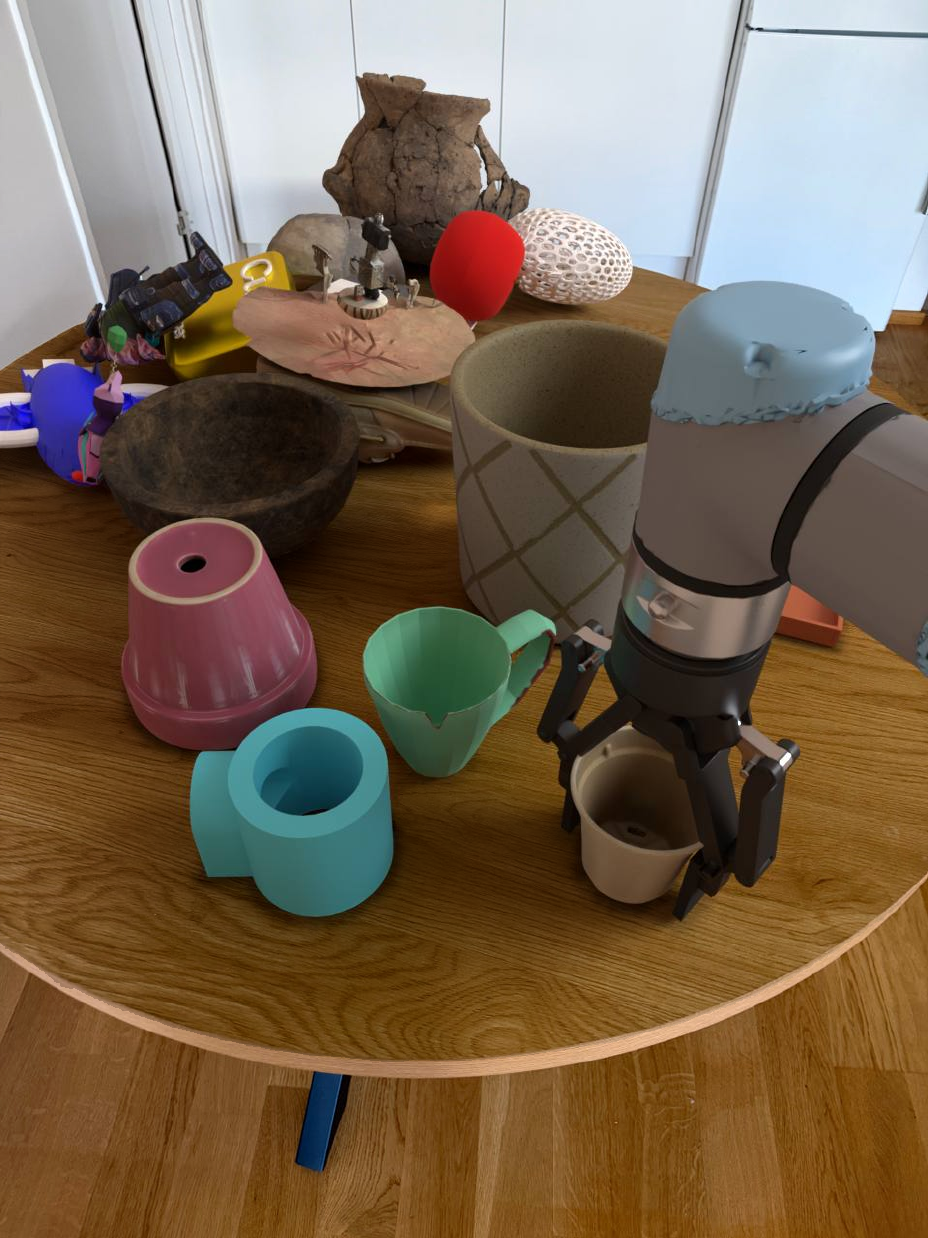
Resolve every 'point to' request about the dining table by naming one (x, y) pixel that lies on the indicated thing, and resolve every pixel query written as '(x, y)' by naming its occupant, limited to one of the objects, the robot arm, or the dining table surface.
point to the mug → (450, 680)
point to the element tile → (223, 323)
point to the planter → (551, 466)
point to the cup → (298, 811)
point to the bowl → (235, 457)
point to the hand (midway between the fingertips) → (630, 859)
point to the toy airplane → (58, 412)
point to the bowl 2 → (329, 246)
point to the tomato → (476, 264)
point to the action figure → (152, 305)
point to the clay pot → (419, 164)
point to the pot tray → (809, 619)
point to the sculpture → (355, 325)
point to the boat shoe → (388, 413)
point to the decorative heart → (570, 258)
